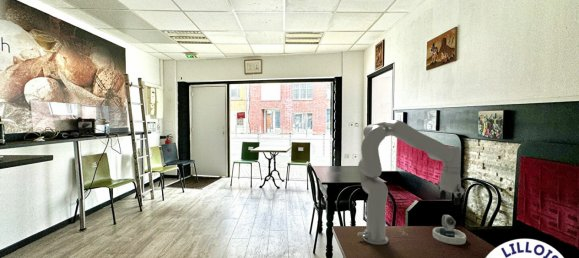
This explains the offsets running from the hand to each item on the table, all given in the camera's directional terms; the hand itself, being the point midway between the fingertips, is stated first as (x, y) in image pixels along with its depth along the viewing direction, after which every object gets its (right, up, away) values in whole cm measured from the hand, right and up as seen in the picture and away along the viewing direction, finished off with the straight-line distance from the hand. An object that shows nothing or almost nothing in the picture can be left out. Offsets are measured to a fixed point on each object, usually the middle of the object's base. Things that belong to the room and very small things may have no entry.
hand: (449, 201), depth 146 cm
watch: (0, -19, +1) cm, 19 cm away
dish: (0, -20, +1) cm, 20 cm away
